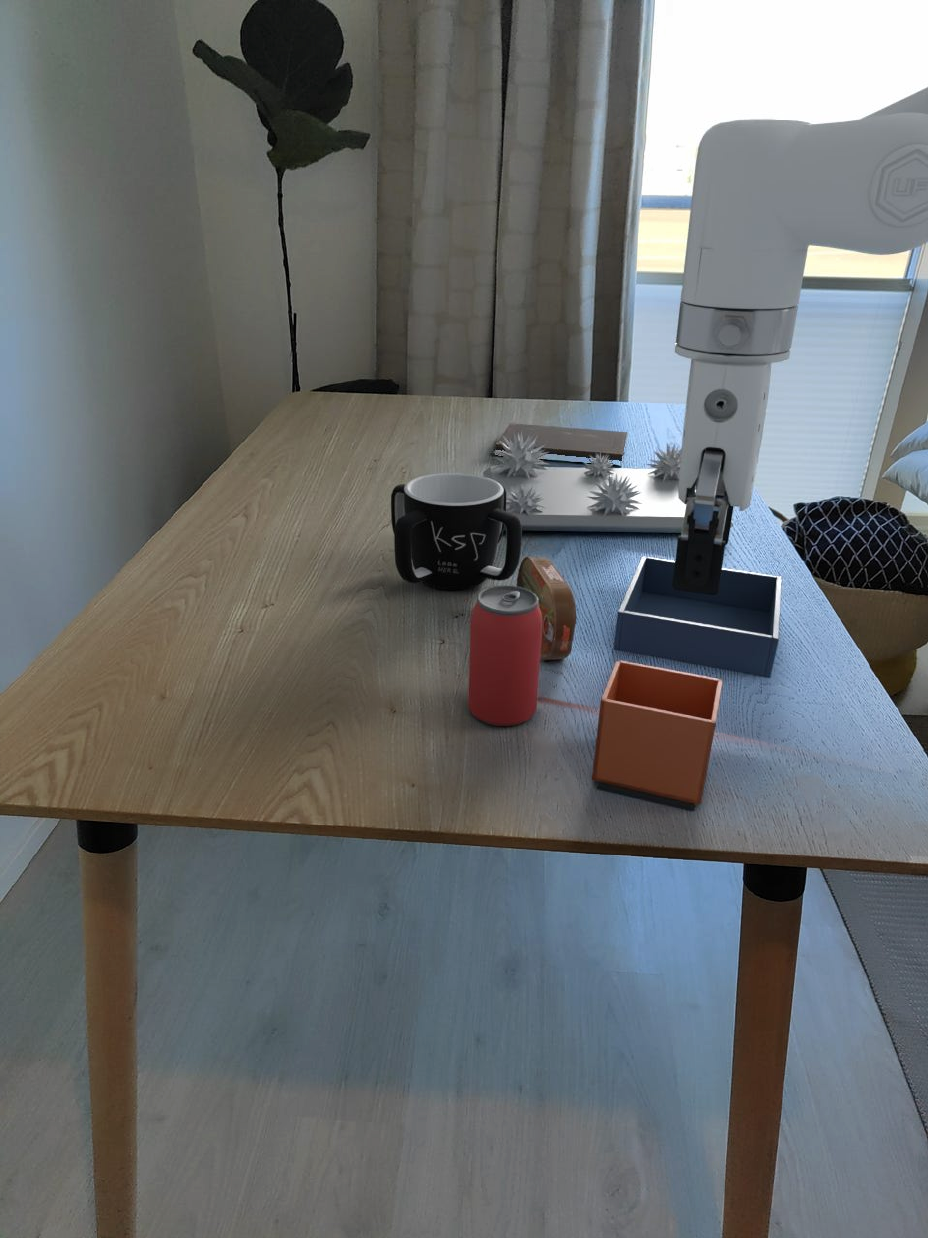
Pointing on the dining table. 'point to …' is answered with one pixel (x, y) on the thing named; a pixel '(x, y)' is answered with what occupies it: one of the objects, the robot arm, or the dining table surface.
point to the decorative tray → (589, 492)
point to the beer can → (504, 655)
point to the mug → (453, 530)
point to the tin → (550, 605)
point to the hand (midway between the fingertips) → (701, 565)
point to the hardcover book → (569, 440)
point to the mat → (646, 796)
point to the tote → (702, 619)
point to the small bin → (656, 730)
